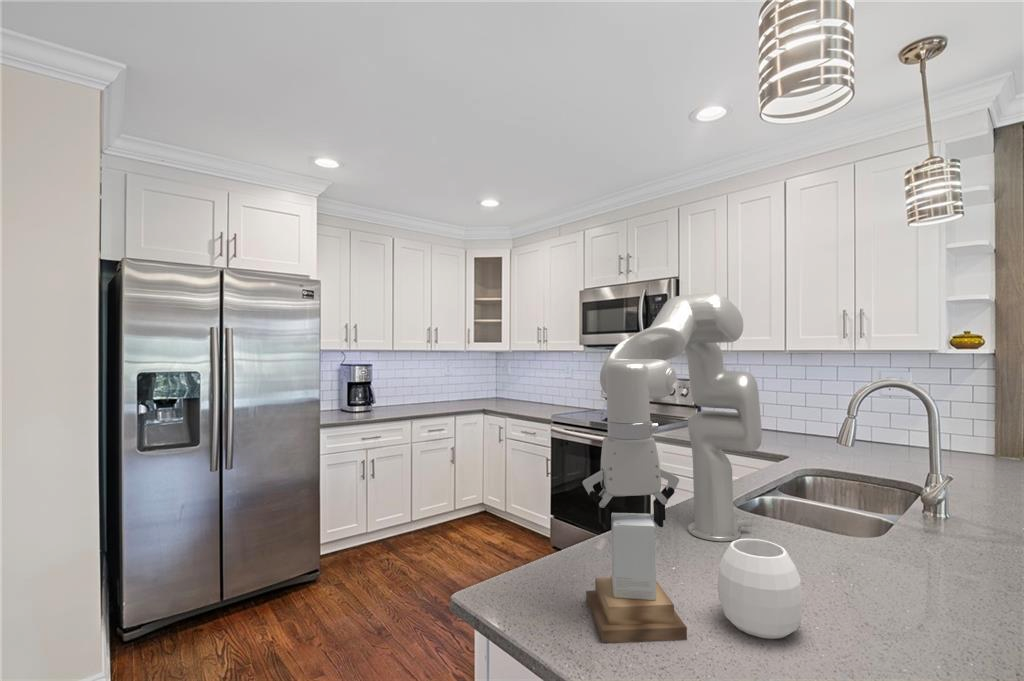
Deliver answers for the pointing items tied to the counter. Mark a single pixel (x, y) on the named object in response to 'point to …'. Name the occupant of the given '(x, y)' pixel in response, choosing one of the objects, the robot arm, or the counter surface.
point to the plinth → (634, 629)
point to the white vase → (760, 588)
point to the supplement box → (633, 556)
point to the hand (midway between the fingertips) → (632, 525)
